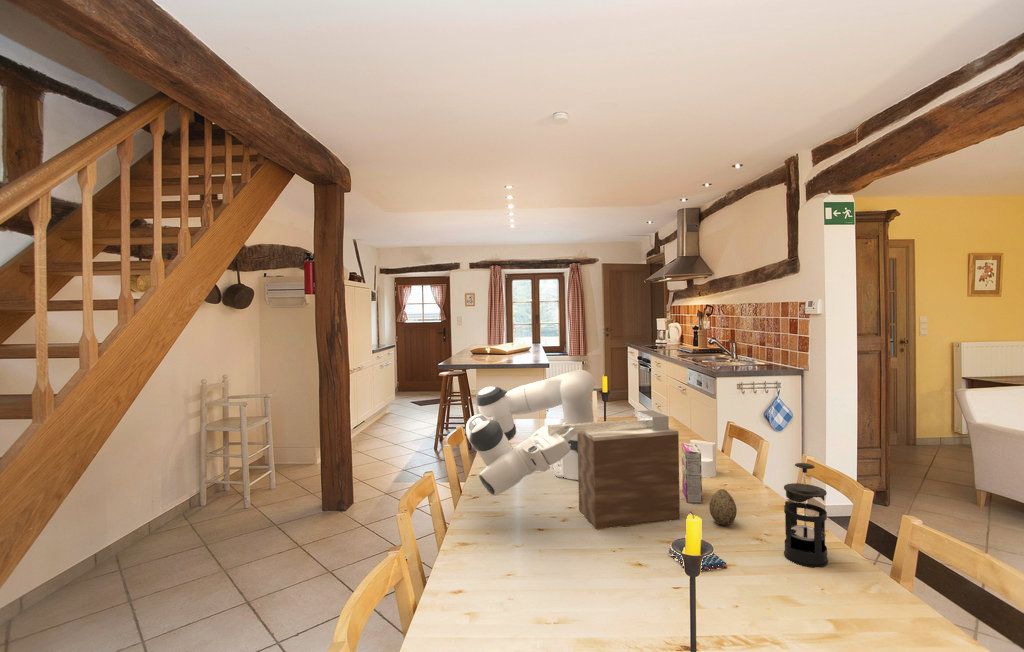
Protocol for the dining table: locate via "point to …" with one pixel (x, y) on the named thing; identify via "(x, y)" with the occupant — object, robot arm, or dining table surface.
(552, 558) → the dining table surface
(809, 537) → the french press
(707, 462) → the base with upright slab
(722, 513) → the decorative egg
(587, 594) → the dining table surface
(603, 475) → the dark wood block
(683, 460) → the candy bar box
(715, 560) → the woven mat
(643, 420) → the bar
